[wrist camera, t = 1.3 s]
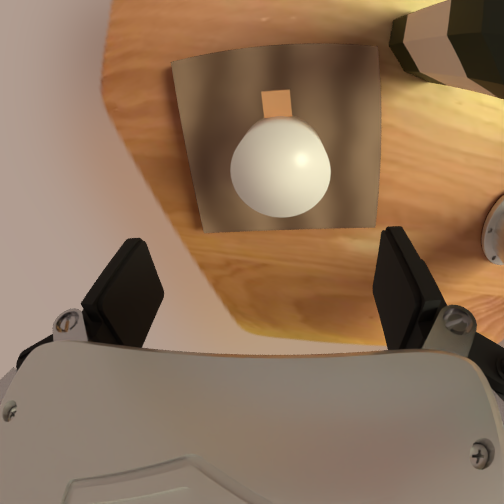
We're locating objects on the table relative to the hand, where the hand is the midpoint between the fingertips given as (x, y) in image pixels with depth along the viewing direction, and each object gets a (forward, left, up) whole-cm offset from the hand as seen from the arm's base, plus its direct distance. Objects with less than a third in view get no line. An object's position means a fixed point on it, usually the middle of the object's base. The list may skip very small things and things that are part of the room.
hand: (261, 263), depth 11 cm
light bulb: (0, -1, -15) cm, 16 cm away
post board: (0, 0, -22) cm, 22 cm away
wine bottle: (-16, -11, -22) cm, 30 cm away
